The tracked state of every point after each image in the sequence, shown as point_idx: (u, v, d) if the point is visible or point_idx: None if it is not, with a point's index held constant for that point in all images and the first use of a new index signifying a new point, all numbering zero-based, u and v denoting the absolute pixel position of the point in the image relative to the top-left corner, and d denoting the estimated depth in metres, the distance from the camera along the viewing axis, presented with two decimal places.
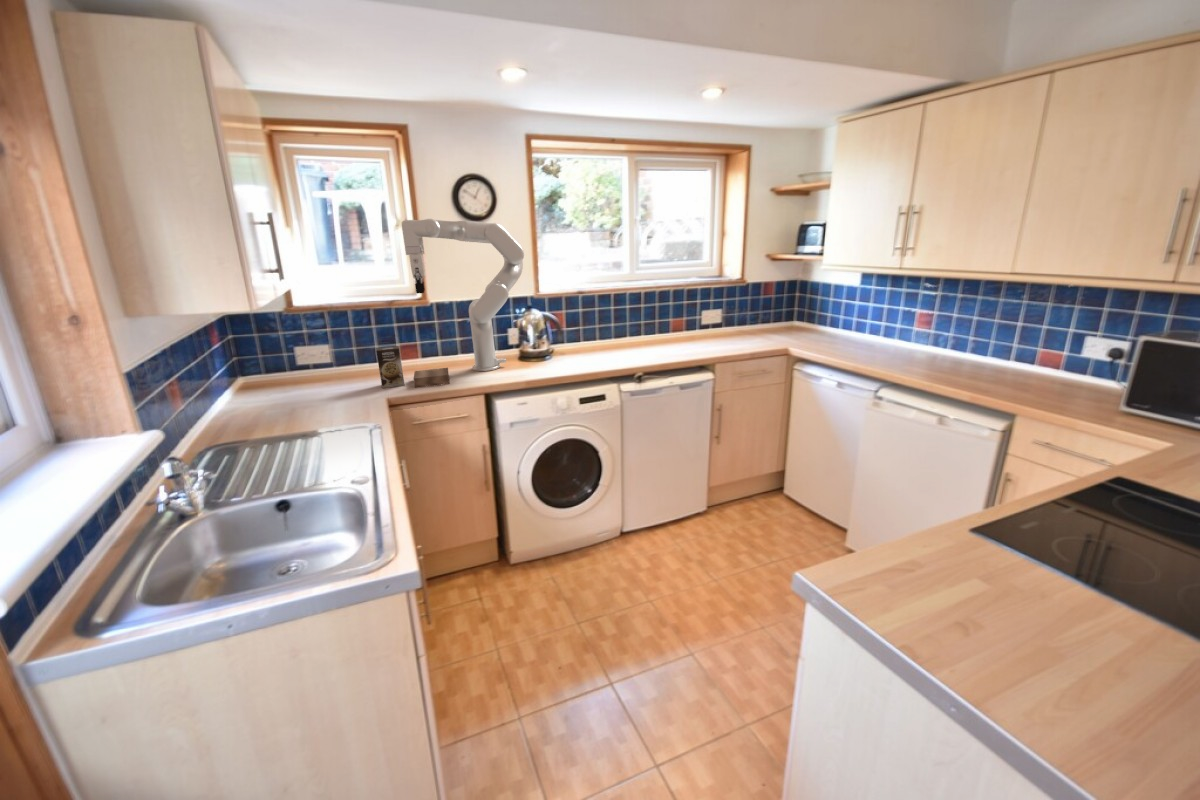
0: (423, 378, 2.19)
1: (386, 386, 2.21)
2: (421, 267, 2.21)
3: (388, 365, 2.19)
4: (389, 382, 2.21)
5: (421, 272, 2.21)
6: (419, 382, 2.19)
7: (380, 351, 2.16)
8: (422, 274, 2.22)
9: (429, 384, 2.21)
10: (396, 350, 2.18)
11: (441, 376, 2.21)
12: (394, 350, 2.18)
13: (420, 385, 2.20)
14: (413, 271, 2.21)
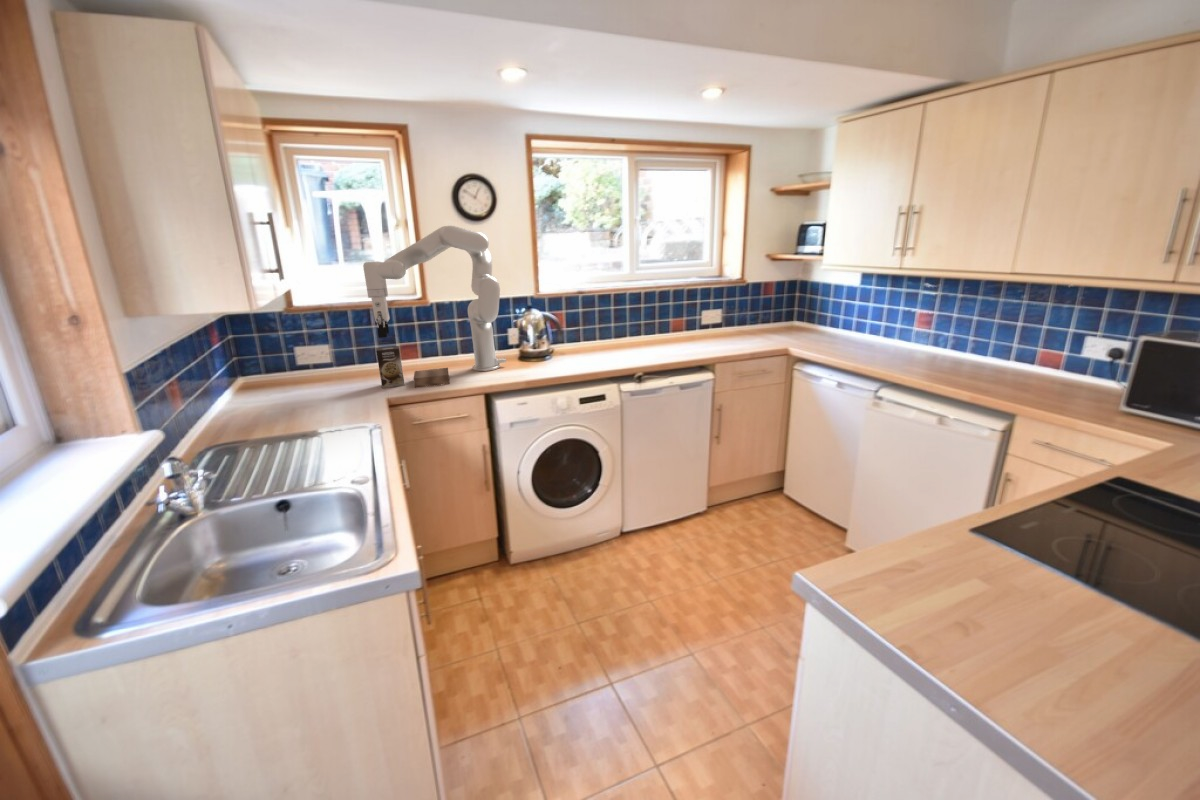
0: (423, 378, 2.19)
1: (386, 386, 2.21)
2: (384, 311, 2.11)
3: (388, 365, 2.19)
4: (389, 382, 2.21)
5: (384, 316, 2.11)
6: (419, 382, 2.19)
7: (380, 351, 2.16)
8: (385, 318, 2.11)
9: (429, 384, 2.21)
10: (396, 350, 2.18)
11: (441, 376, 2.21)
12: (394, 350, 2.18)
13: (420, 385, 2.20)
14: (375, 315, 2.10)
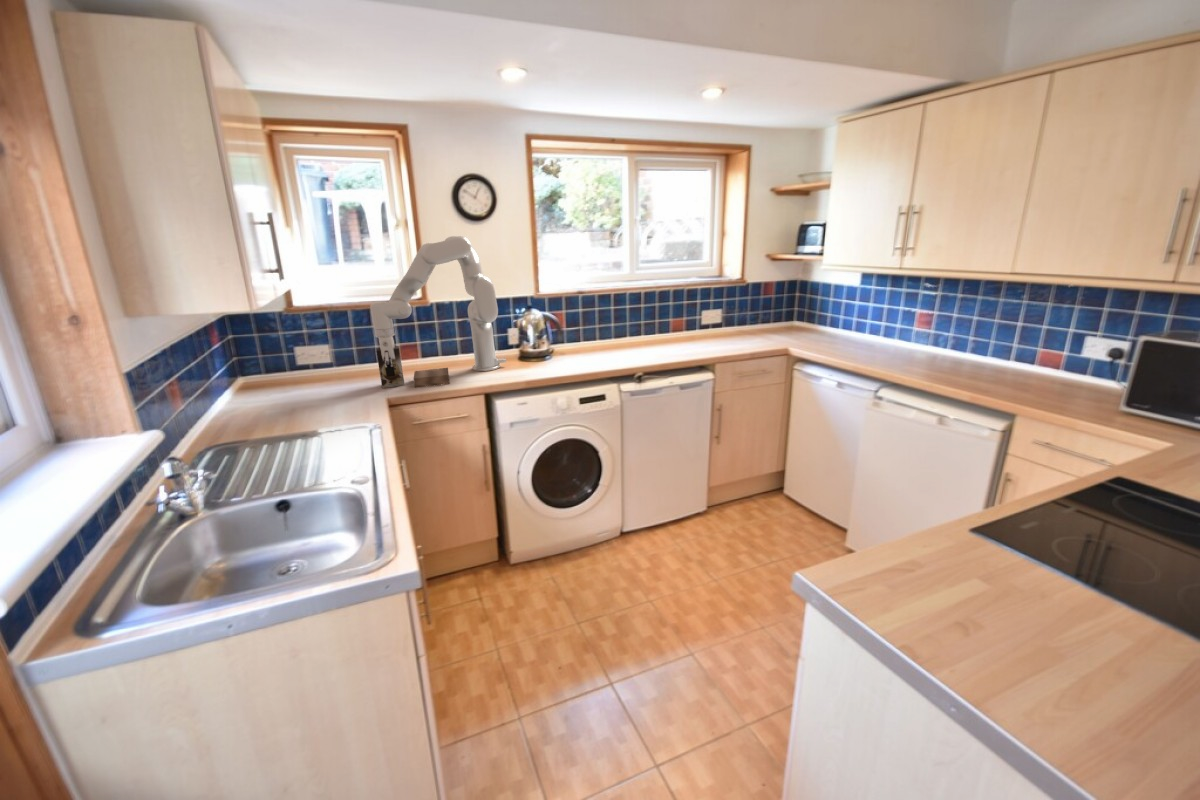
0: (423, 378, 2.19)
1: (386, 386, 2.21)
2: (391, 350, 2.16)
3: None
4: (389, 382, 2.21)
5: (391, 355, 2.16)
6: (419, 382, 2.19)
7: (380, 351, 2.16)
8: (392, 356, 2.17)
9: (429, 384, 2.21)
10: (396, 350, 2.18)
11: (441, 376, 2.21)
12: (394, 350, 2.18)
13: (420, 385, 2.20)
14: (382, 354, 2.15)
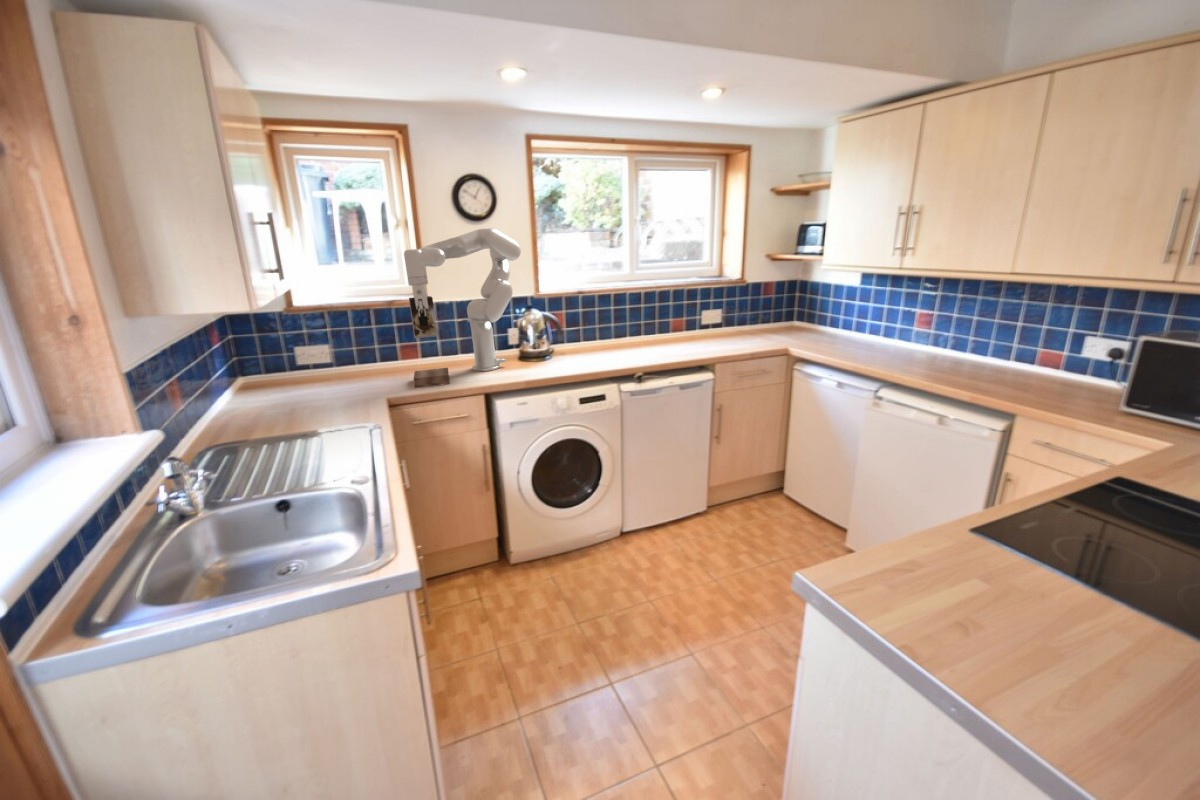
0: (423, 378, 2.19)
1: (419, 336, 2.17)
2: (425, 298, 2.12)
3: None
4: (422, 332, 2.17)
5: (425, 303, 2.12)
6: (419, 382, 2.19)
7: (413, 299, 2.12)
8: (426, 305, 2.13)
9: (429, 384, 2.21)
10: (429, 299, 2.15)
11: (441, 376, 2.21)
12: None
13: (420, 385, 2.20)
14: (416, 302, 2.11)
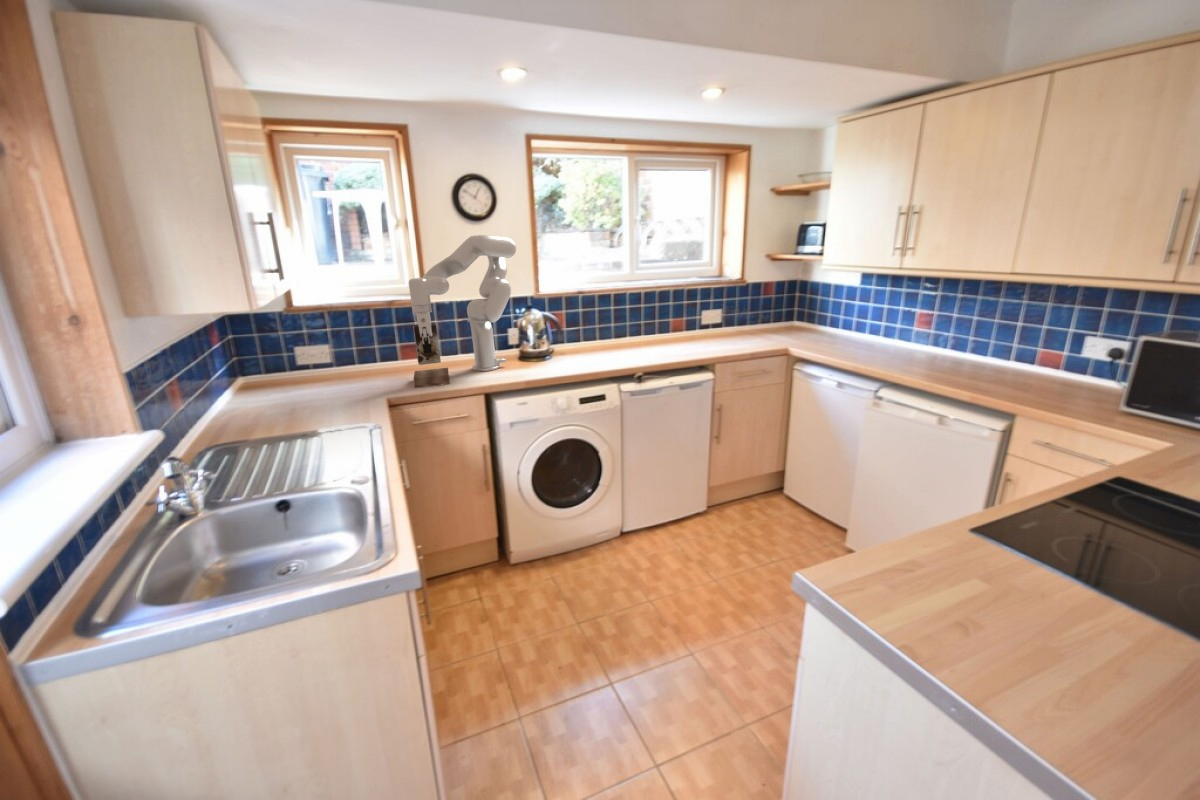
0: (423, 378, 2.19)
1: (423, 363, 2.20)
2: (428, 326, 2.15)
3: None
4: (426, 359, 2.20)
5: (428, 331, 2.16)
6: (419, 382, 2.19)
7: (418, 327, 2.16)
8: (429, 333, 2.16)
9: (429, 384, 2.21)
10: (433, 327, 2.18)
11: (441, 376, 2.21)
12: (431, 327, 2.18)
13: (420, 385, 2.20)
14: (420, 330, 2.15)
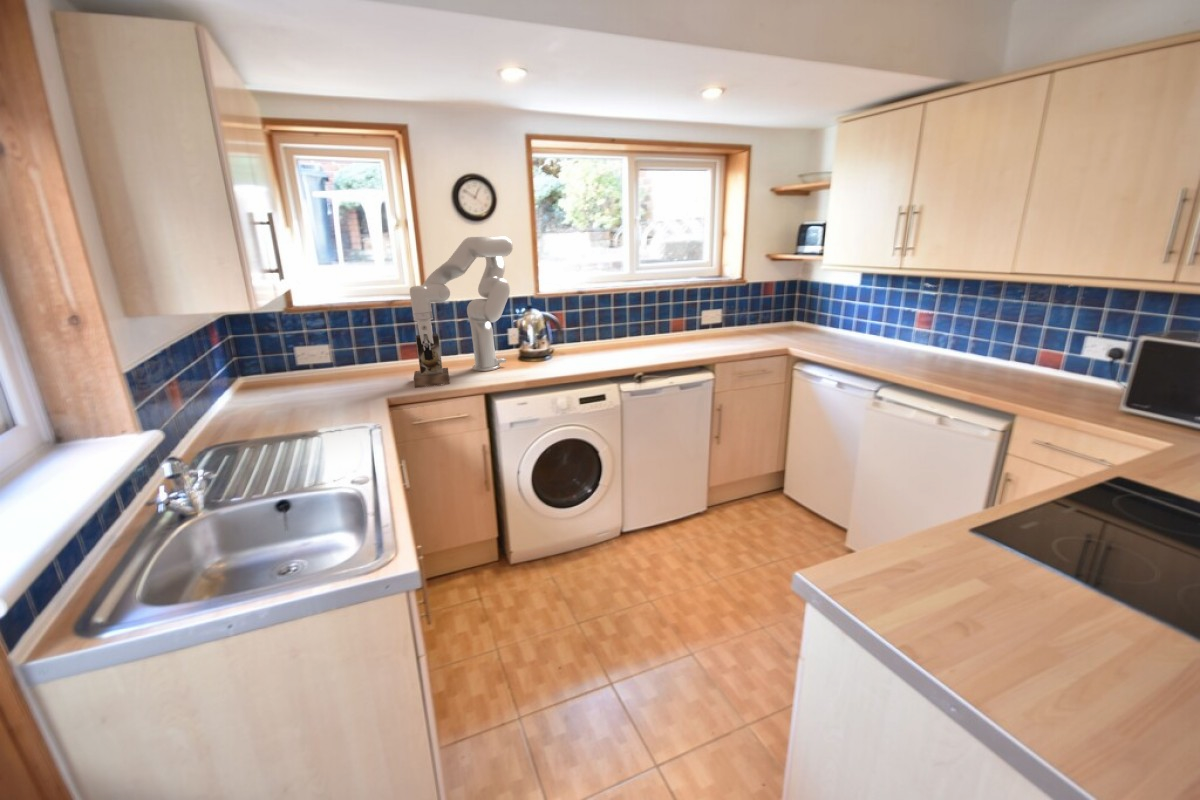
0: (423, 378, 2.19)
1: (425, 373, 2.22)
2: (430, 333, 2.16)
3: None
4: (428, 369, 2.22)
5: (430, 338, 2.17)
6: (419, 382, 2.19)
7: None
8: (431, 340, 2.17)
9: (429, 384, 2.21)
10: (435, 338, 2.19)
11: (441, 376, 2.21)
12: (434, 338, 2.19)
13: (420, 385, 2.20)
14: (421, 338, 2.16)
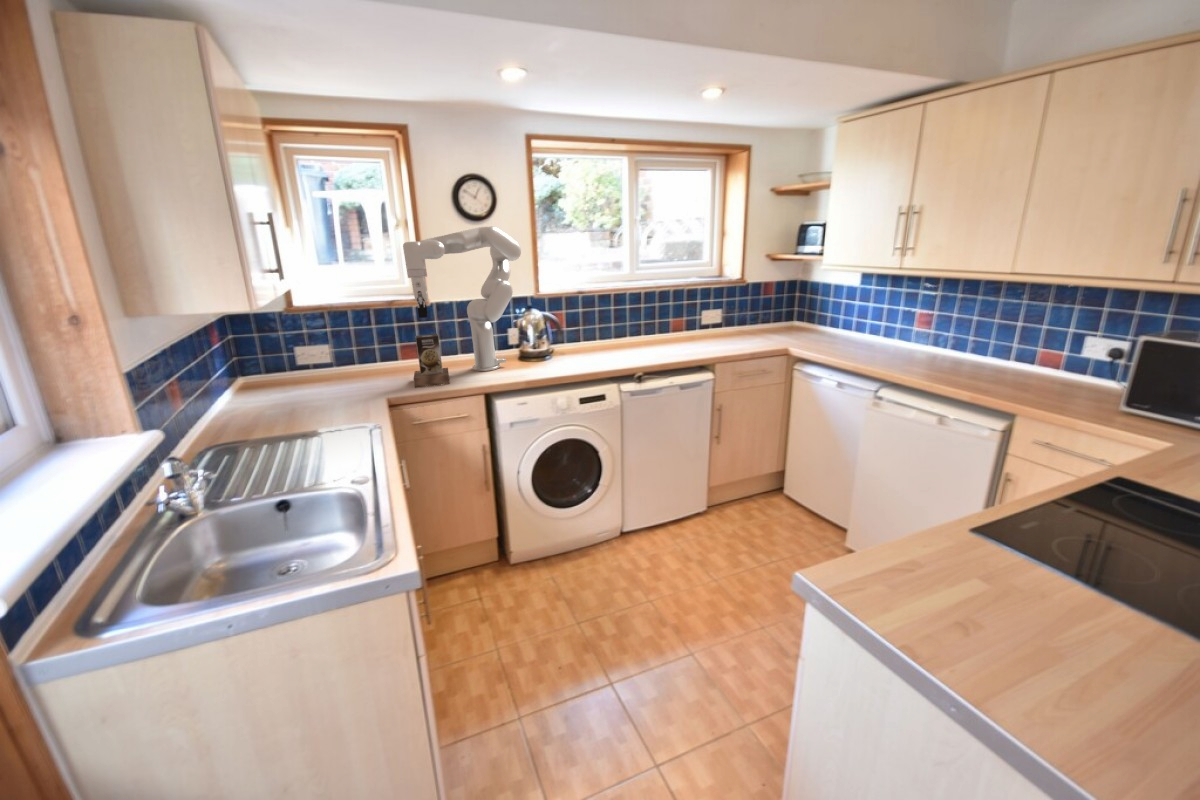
0: (423, 378, 2.19)
1: (425, 373, 2.22)
2: (424, 291, 2.11)
3: (428, 352, 2.20)
4: (428, 369, 2.22)
5: (424, 296, 2.12)
6: (419, 382, 2.19)
7: (420, 338, 2.17)
8: (425, 298, 2.12)
9: (429, 384, 2.21)
10: (435, 337, 2.20)
11: (441, 376, 2.21)
12: (433, 337, 2.19)
13: (420, 385, 2.20)
14: (415, 295, 2.11)
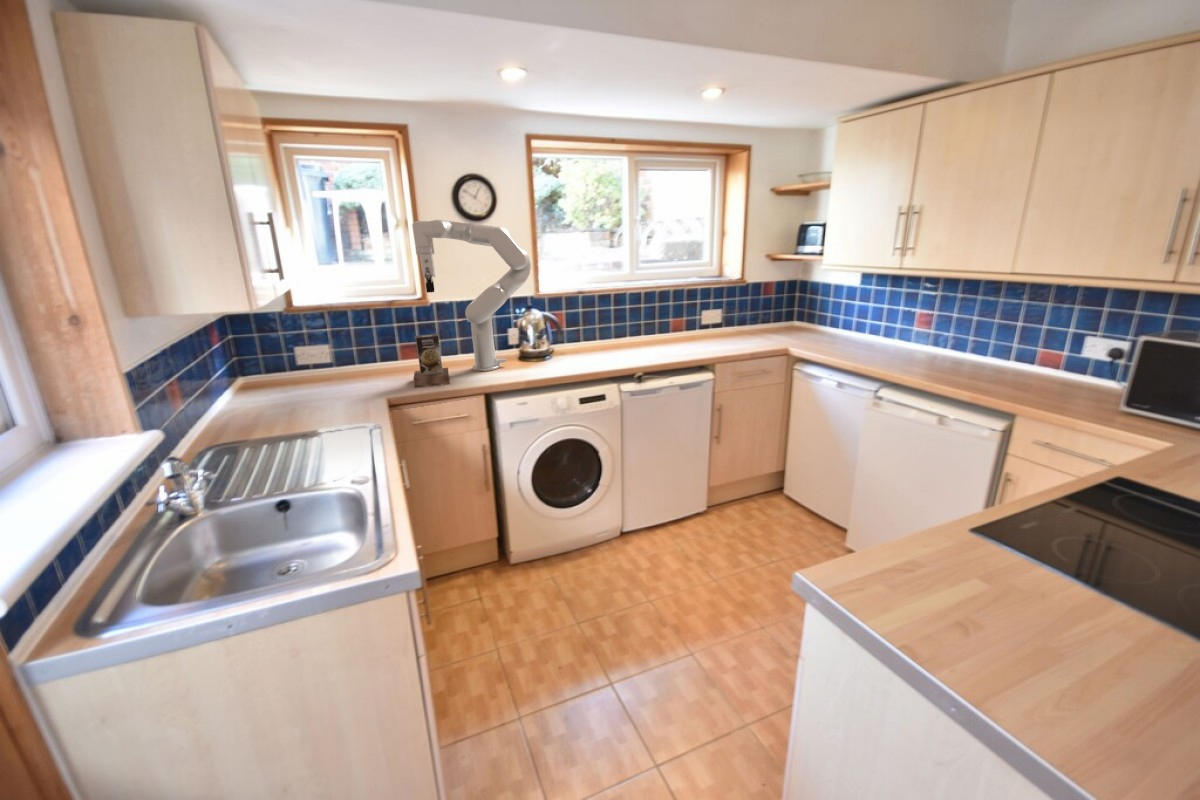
0: (423, 378, 2.19)
1: (425, 373, 2.22)
2: (431, 267, 2.27)
3: (428, 352, 2.20)
4: (428, 369, 2.22)
5: (431, 272, 2.27)
6: (419, 382, 2.19)
7: (420, 338, 2.17)
8: (432, 274, 2.28)
9: (429, 384, 2.21)
10: (435, 337, 2.20)
11: (441, 376, 2.21)
12: (433, 337, 2.19)
13: (420, 385, 2.20)
14: (424, 271, 2.26)
